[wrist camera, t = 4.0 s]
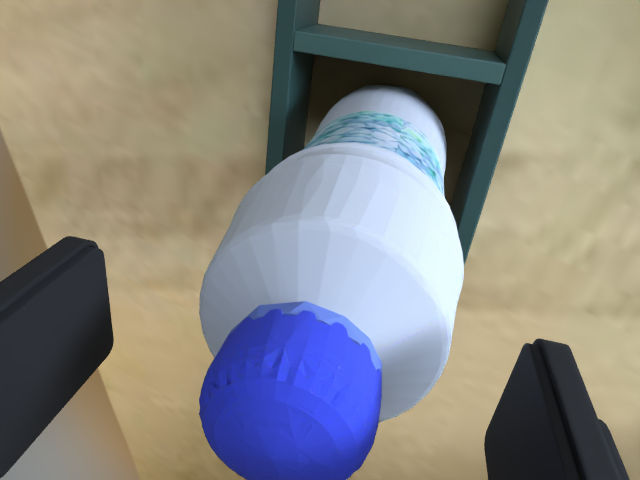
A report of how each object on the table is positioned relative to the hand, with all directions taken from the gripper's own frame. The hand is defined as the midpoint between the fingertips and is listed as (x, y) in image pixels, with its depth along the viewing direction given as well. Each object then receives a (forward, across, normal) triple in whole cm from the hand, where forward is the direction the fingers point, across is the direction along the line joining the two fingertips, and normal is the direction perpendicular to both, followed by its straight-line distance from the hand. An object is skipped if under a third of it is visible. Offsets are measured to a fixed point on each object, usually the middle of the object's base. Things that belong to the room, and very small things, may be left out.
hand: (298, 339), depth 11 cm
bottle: (+17, -1, 0) cm, 17 cm away
